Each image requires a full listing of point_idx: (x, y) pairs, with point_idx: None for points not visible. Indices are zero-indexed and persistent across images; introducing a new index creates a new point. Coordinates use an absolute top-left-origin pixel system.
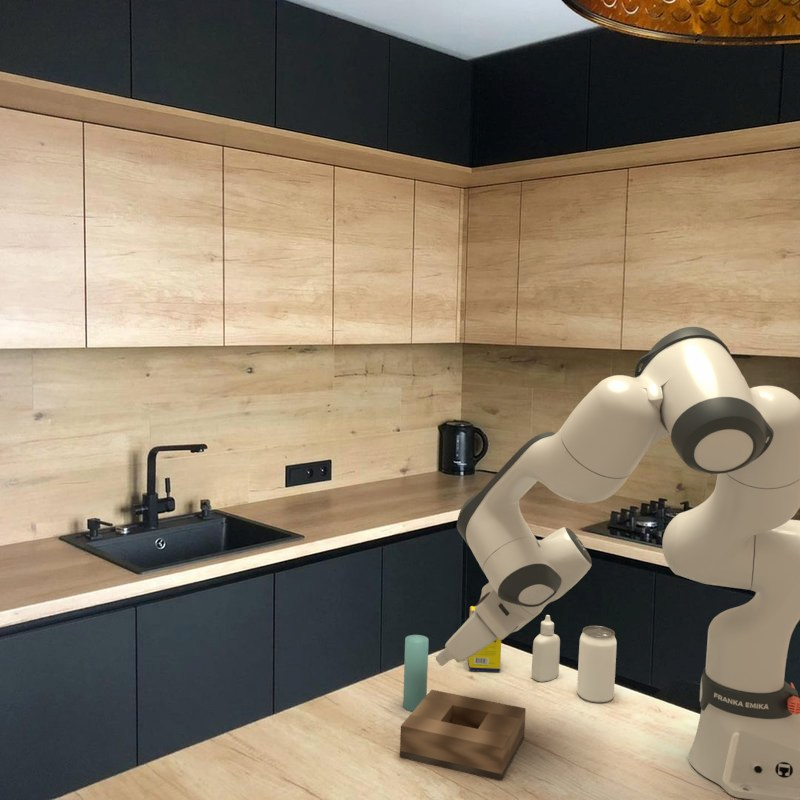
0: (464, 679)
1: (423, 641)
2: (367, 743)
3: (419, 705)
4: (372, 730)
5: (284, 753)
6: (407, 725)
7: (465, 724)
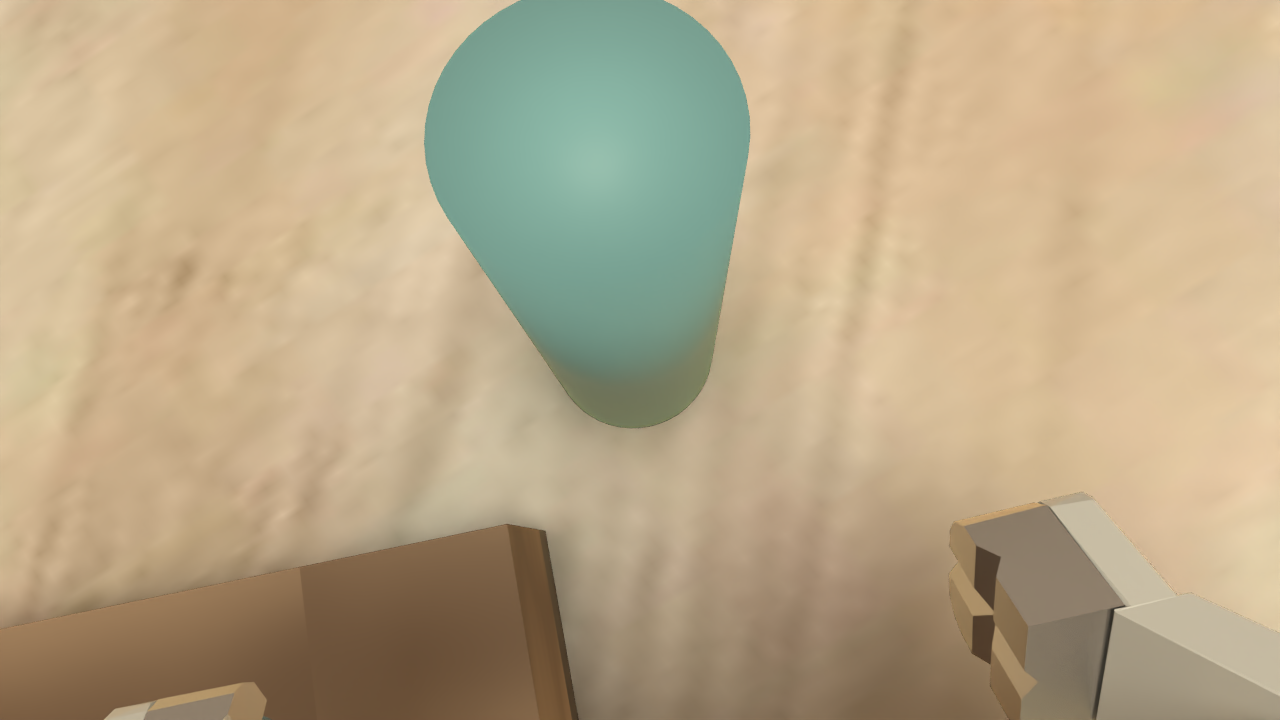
0: (1249, 405)
1: (564, 243)
2: (42, 388)
3: (174, 605)
4: (198, 319)
5: None
6: None
7: None
